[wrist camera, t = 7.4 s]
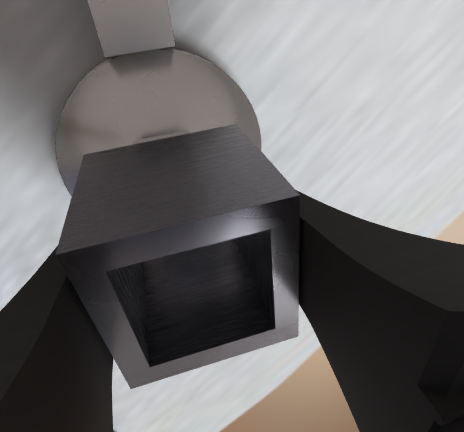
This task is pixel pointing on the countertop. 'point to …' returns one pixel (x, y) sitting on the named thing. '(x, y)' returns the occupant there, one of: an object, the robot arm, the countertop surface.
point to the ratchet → (144, 89)
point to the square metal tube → (184, 251)
